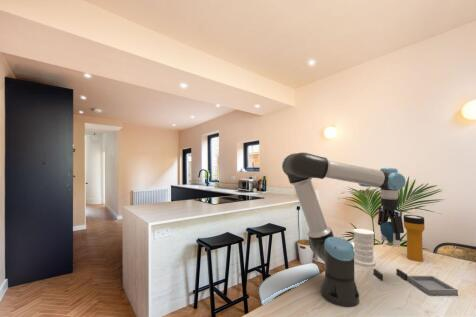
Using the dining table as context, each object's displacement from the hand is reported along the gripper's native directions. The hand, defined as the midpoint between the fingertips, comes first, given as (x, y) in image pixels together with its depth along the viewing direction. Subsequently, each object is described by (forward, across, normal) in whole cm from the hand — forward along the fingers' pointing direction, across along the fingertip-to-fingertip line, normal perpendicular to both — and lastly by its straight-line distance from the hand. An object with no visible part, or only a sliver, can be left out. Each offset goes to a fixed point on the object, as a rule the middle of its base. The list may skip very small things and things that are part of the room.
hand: (390, 243), depth 113 cm
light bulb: (+2, 0, 0) cm, 2 cm away
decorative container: (+18, +18, +3) cm, 25 cm away
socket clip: (+17, 0, 0) cm, 17 cm away
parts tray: (+17, -9, -12) cm, 23 cm away
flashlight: (+18, +23, -31) cm, 42 cm away
